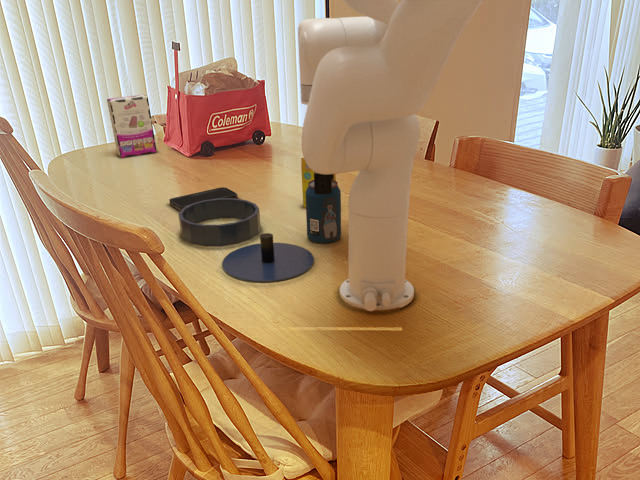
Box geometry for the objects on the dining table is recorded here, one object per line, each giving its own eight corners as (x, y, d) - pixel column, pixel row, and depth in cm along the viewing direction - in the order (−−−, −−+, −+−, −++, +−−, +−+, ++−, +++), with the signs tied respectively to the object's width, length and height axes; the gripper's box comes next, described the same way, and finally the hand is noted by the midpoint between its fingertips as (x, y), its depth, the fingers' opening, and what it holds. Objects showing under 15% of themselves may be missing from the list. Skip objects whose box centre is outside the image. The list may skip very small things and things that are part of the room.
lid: (311, 285, 111) (310, 254, 108) (214, 285, 112) (210, 254, 109) (316, 247, 126) (315, 218, 123) (231, 247, 127) (228, 218, 124)
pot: (254, 248, 126) (252, 225, 123) (173, 248, 127) (170, 225, 124) (264, 219, 140) (263, 198, 137) (192, 219, 141) (189, 198, 138)
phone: (239, 194, 151) (181, 207, 144) (239, 199, 152) (181, 212, 144) (224, 186, 157) (167, 198, 150) (224, 190, 157) (168, 203, 150)
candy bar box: (152, 149, 195) (144, 93, 187) (157, 152, 191) (148, 96, 183) (116, 154, 190) (106, 98, 182) (120, 158, 186) (109, 100, 178)
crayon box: (336, 206, 146) (336, 156, 140) (332, 210, 144) (331, 159, 138) (307, 203, 148) (305, 154, 142) (302, 207, 146) (300, 157, 140)
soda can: (319, 231, 133) (318, 175, 127) (347, 238, 129) (347, 181, 123) (300, 242, 128) (298, 185, 122) (328, 249, 124) (327, 190, 118)
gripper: (341, 100, 106) (342, 199, 114) (343, 86, 121) (344, 174, 129) (296, 102, 107) (301, 200, 115) (304, 87, 122) (308, 175, 130)
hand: (324, 186), depth 122 cm, fingers open, 9 cm apart
